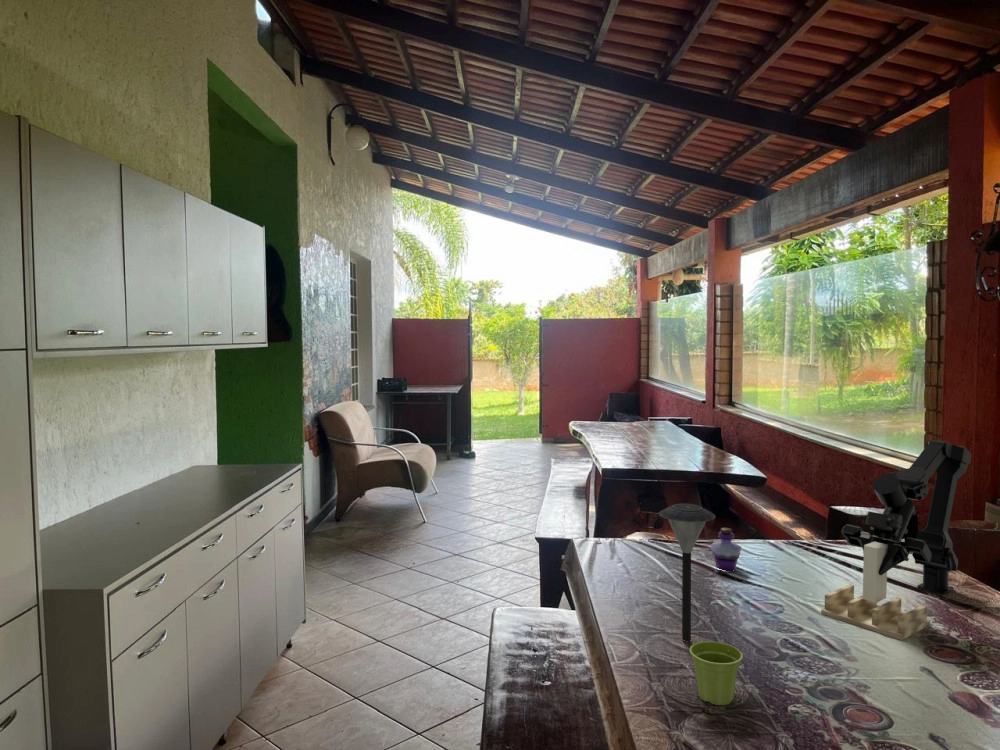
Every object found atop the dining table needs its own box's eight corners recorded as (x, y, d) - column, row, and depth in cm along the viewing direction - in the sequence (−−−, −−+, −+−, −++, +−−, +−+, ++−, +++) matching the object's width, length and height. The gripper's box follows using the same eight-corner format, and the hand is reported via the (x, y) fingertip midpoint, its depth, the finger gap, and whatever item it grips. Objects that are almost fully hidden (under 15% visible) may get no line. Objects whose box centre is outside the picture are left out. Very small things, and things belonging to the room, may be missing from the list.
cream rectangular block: (873, 594, 162) (874, 541, 161) (886, 598, 160) (887, 544, 159) (862, 598, 159) (864, 545, 159) (875, 602, 157) (877, 548, 156)
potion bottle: (723, 562, 202) (724, 523, 201) (747, 570, 194) (748, 529, 194) (704, 567, 197) (704, 527, 197) (728, 576, 190) (728, 534, 189)
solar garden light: (685, 657, 141) (685, 516, 140) (646, 635, 152) (646, 504, 150) (727, 645, 147) (728, 509, 145) (687, 624, 157) (688, 498, 156)
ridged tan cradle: (850, 600, 171) (850, 583, 171) (929, 624, 156) (930, 605, 156) (821, 613, 163) (821, 595, 163) (901, 640, 148) (902, 620, 148)
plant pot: (682, 685, 129) (682, 641, 129) (729, 683, 130) (729, 639, 130) (700, 712, 120) (700, 665, 120) (751, 709, 121) (751, 662, 120)
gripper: (845, 492, 168) (821, 543, 162) (926, 506, 153) (903, 563, 147) (860, 518, 173) (838, 568, 167) (941, 534, 158) (919, 590, 152)
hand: (872, 572), depth 158 cm, fingers closed on cream rectangular block, 3 cm apart
